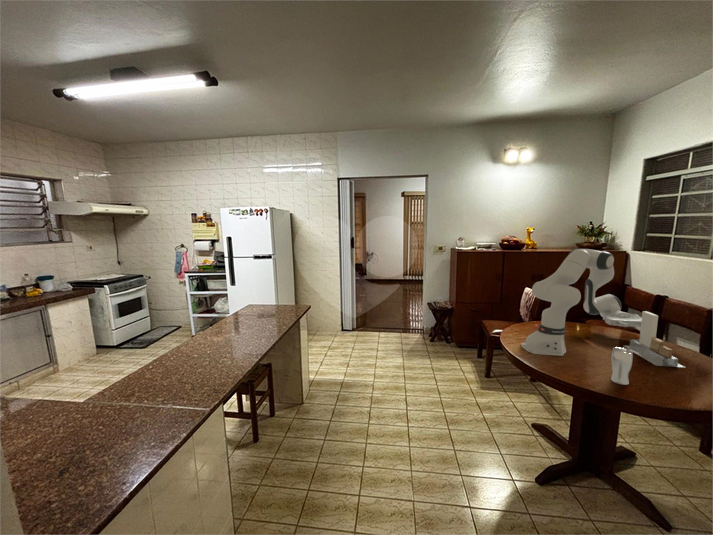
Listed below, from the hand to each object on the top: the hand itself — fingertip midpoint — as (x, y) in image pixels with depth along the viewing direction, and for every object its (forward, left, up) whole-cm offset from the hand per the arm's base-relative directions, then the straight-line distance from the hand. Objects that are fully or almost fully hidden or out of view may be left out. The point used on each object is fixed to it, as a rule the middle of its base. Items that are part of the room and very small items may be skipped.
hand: (636, 326), depth 162 cm
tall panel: (-2, -9, -12) cm, 15 cm away
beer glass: (-39, -36, -14) cm, 54 cm away
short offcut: (-4, -21, -12) cm, 24 cm away
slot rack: (-3, -13, -13) cm, 18 cm away
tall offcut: (-3, -16, -12) cm, 20 cm away
